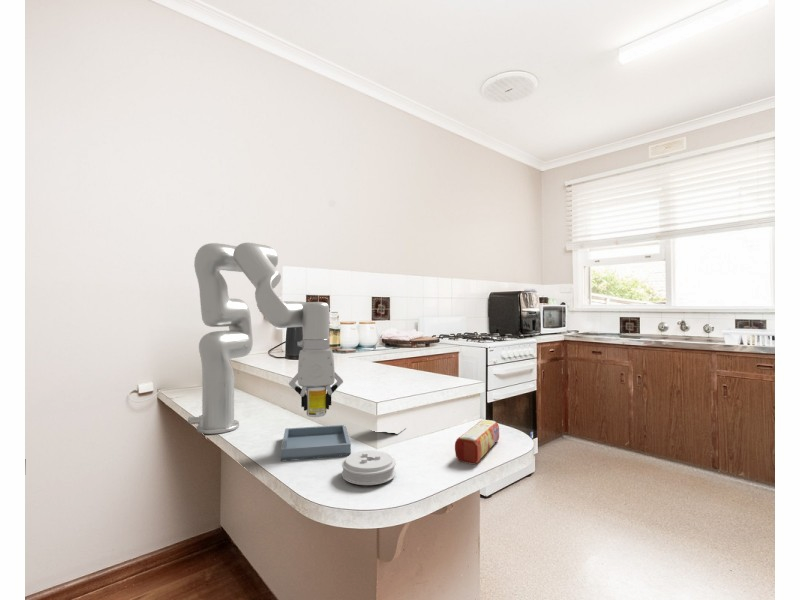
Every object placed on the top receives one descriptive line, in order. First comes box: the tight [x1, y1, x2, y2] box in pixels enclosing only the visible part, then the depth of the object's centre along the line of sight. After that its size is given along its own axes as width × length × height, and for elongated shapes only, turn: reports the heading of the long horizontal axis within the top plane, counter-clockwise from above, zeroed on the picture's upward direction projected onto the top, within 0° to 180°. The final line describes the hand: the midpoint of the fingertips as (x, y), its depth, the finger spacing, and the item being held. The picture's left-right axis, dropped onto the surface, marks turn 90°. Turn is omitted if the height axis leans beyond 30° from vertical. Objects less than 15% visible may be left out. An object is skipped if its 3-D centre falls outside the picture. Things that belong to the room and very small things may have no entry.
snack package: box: [454, 419, 500, 465], centre depth 113 cm, size 21×7×7 cm, turn 151°
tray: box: [280, 424, 352, 461], centre depth 116 cm, size 18×18×3 cm
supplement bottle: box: [305, 386, 327, 418], centre depth 116 cm, size 6×6×10 cm
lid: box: [341, 450, 397, 486], centre depth 96 cm, size 13×13×5 cm
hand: (316, 408), depth 116 cm, fingers closed on supplement bottle, 5 cm apart
